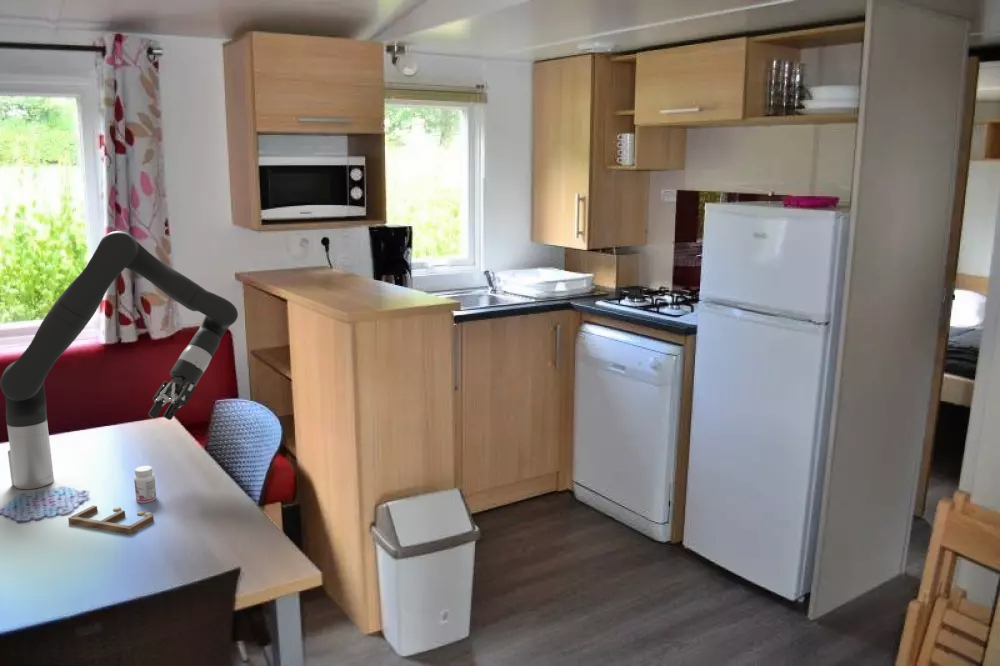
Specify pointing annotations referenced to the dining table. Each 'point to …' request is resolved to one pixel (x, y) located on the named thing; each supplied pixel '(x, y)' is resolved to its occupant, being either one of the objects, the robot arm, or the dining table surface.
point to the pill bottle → (144, 484)
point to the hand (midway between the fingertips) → (158, 417)
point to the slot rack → (110, 521)
